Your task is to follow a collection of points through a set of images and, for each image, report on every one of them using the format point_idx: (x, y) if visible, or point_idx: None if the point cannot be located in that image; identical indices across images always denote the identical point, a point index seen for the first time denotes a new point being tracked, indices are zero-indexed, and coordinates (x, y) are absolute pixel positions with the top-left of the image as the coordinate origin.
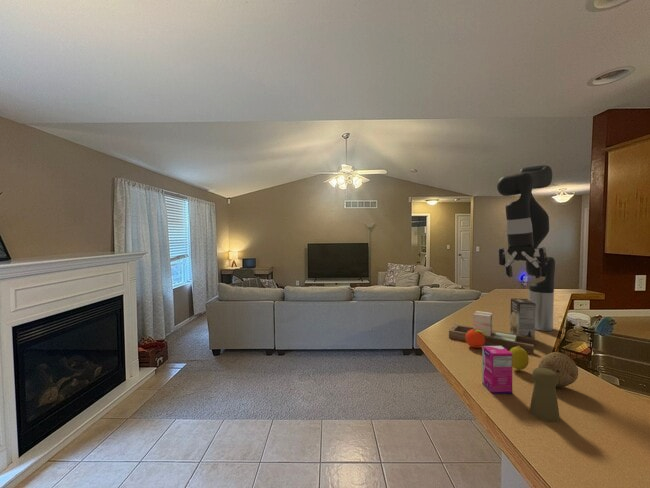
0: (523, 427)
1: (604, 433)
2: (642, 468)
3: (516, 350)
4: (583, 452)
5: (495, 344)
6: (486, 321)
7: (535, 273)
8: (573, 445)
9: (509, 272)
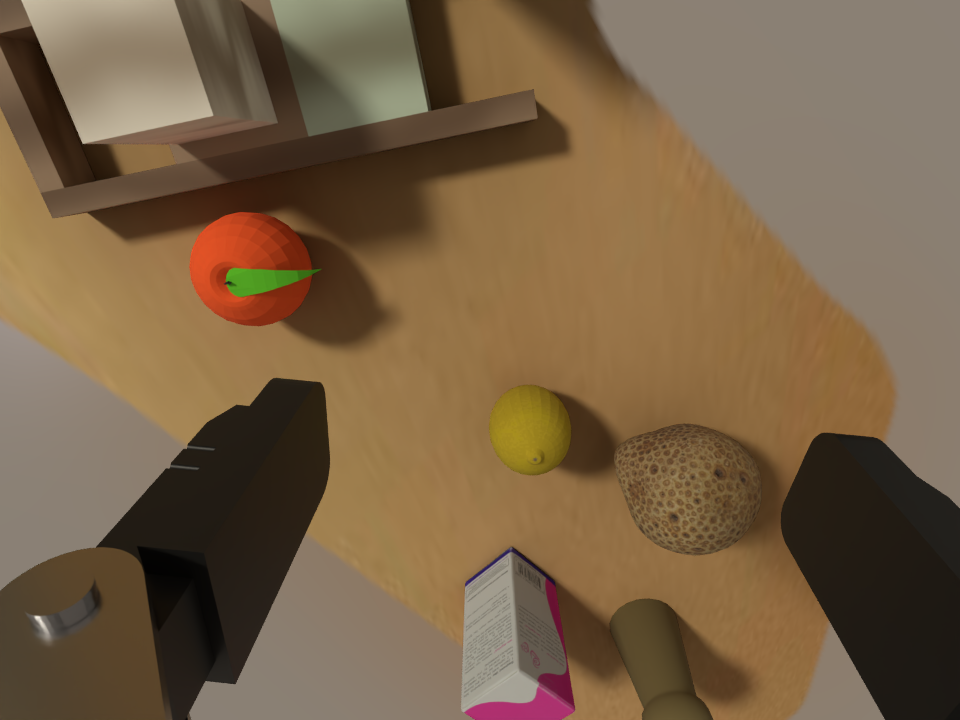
0: (610, 697)
1: (764, 614)
2: (809, 680)
3: (530, 473)
4: (718, 699)
5: (338, 160)
6: (209, 123)
7: (829, 608)
8: (702, 691)
9: (285, 554)
